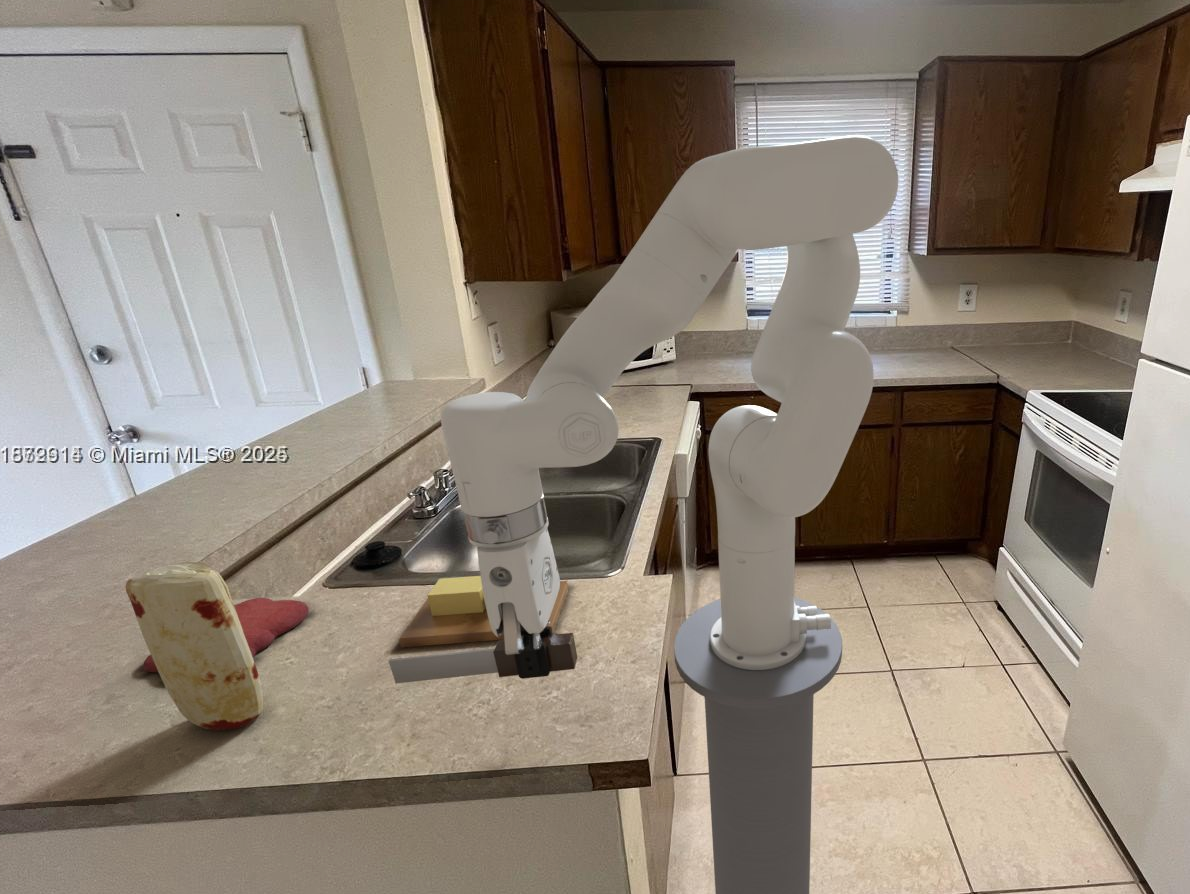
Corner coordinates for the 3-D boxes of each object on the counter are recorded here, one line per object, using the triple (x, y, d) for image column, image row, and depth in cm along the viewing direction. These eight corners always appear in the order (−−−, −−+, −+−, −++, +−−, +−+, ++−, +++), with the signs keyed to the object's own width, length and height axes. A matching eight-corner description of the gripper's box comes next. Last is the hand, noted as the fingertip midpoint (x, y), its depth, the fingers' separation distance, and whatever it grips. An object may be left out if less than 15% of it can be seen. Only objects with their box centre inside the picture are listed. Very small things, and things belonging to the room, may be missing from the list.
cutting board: (569, 588, 96) (567, 580, 95) (553, 635, 85) (551, 626, 84) (435, 598, 94) (433, 589, 93) (400, 647, 82) (398, 638, 82)
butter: (492, 595, 92) (488, 575, 90) (483, 612, 87) (479, 591, 86) (443, 598, 91) (439, 578, 90) (431, 616, 87) (427, 595, 85)
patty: (224, 685, 76) (219, 672, 75) (120, 681, 77) (114, 668, 76) (328, 604, 92) (324, 593, 92) (241, 602, 93) (237, 590, 92)
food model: (163, 739, 68) (92, 584, 61) (217, 696, 74) (158, 551, 67) (247, 742, 67) (185, 586, 60) (294, 698, 74) (243, 552, 67)
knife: (577, 657, 69) (573, 632, 67) (574, 669, 67) (569, 643, 65) (400, 676, 67) (392, 651, 65) (392, 689, 65) (383, 663, 64)
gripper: (525, 554, 54) (558, 717, 60) (561, 483, 68) (584, 620, 75) (436, 562, 53) (479, 726, 59) (491, 488, 68) (521, 626, 74)
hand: (538, 665), depth 67 cm, fingers closed on knife, 2 cm apart
